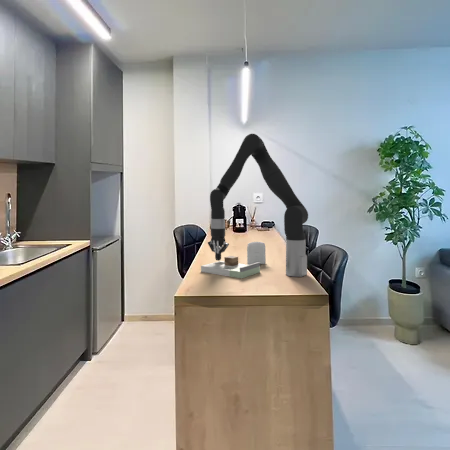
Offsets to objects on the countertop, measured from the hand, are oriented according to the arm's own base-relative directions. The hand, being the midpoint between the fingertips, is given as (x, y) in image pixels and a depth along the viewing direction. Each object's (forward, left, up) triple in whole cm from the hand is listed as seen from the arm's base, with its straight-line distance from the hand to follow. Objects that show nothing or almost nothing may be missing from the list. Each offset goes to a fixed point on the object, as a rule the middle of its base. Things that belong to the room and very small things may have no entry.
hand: (218, 260), depth 198 cm
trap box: (-10, +3, -4) cm, 11 cm away
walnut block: (-9, 0, -1) cm, 9 cm away
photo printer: (-10, -22, -5) cm, 24 cm away
